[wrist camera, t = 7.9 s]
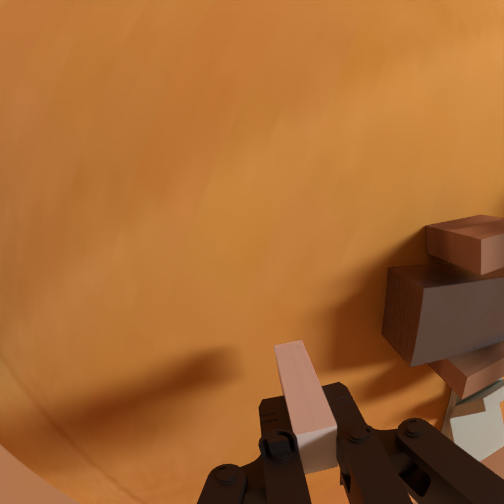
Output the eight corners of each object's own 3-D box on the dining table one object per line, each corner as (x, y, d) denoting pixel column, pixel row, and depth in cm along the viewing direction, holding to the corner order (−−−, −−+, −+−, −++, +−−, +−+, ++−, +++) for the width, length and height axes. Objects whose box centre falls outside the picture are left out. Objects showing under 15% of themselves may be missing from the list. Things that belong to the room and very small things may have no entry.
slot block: (423, 359, 20) (461, 399, 15) (425, 225, 18) (481, 239, 12) (475, 338, 20) (515, 368, 14) (481, 214, 18) (535, 224, 12)
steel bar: (380, 332, 20) (410, 367, 15) (386, 266, 19) (424, 288, 14) (517, 304, 20) (550, 321, 15) (525, 255, 19) (561, 266, 14)
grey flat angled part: (435, 445, 23) (456, 477, 18) (454, 370, 21) (488, 403, 15) (480, 421, 23) (503, 448, 17) (502, 346, 21) (536, 371, 15)
